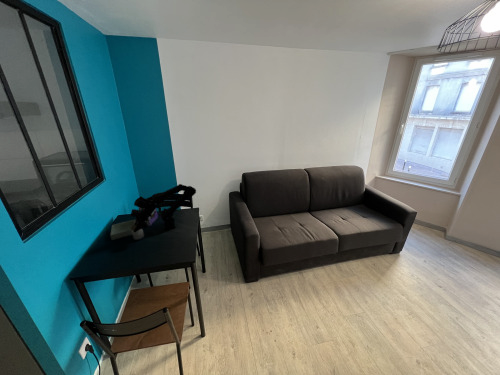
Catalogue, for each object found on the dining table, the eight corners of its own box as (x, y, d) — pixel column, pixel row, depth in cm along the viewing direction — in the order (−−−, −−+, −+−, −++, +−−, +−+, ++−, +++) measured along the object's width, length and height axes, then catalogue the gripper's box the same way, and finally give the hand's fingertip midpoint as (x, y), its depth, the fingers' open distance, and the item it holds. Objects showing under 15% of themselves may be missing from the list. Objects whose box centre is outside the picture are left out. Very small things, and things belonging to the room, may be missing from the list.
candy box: (150, 226, 146) (145, 207, 140) (143, 226, 146) (137, 207, 140) (158, 216, 159) (154, 199, 153) (151, 216, 159) (147, 199, 153)
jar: (143, 232, 136) (140, 222, 133) (144, 237, 131) (141, 227, 127) (133, 235, 133) (130, 225, 130) (133, 240, 128) (130, 230, 125)
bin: (136, 223, 150) (135, 219, 148) (136, 233, 138) (135, 228, 136) (113, 229, 143) (112, 225, 141) (112, 240, 131) (110, 235, 129)
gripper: (136, 200, 132) (122, 218, 131) (137, 211, 117) (121, 231, 116) (151, 207, 139) (138, 224, 138) (153, 218, 124) (138, 238, 123)
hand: (134, 229), depth 129 cm, fingers closed on jar, 6 cm apart
